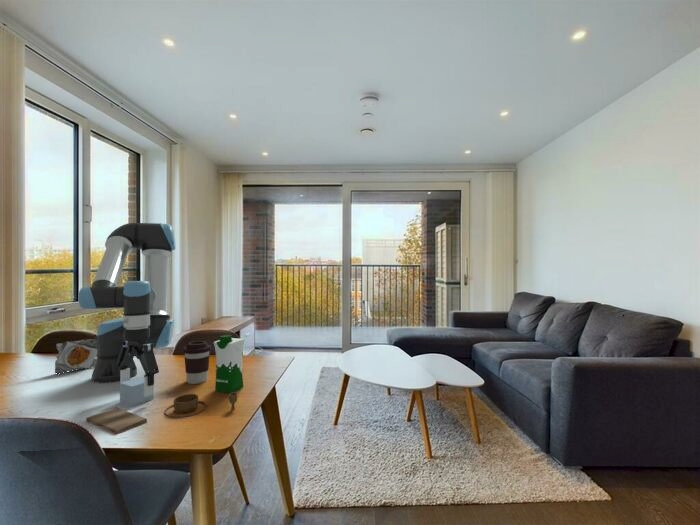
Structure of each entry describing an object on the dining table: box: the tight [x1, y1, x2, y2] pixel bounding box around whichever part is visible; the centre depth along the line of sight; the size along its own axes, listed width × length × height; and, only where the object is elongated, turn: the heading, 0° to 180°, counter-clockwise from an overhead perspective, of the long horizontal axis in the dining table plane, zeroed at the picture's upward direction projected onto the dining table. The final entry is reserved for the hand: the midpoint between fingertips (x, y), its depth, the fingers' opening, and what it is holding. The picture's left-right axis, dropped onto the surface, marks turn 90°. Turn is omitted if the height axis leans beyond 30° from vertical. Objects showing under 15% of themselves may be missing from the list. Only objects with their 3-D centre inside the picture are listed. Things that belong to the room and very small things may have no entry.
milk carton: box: [213, 334, 245, 394], centre depth 126 cm, size 9×9×20 cm
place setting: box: [164, 392, 238, 419], centre depth 106 cm, size 18×20×6 cm
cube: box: [119, 376, 155, 407], centre depth 115 cm, size 7×7×7 cm
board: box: [85, 406, 148, 435], centre depth 99 cm, size 16×8×2 cm, turn 61°
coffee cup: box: [182, 340, 212, 385], centre depth 135 cm, size 10×10×15 cm
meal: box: [54, 338, 97, 374], centre depth 147 cm, size 15×4×13 cm, turn 142°
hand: (136, 392), depth 114 cm, fingers open, 13 cm apart
